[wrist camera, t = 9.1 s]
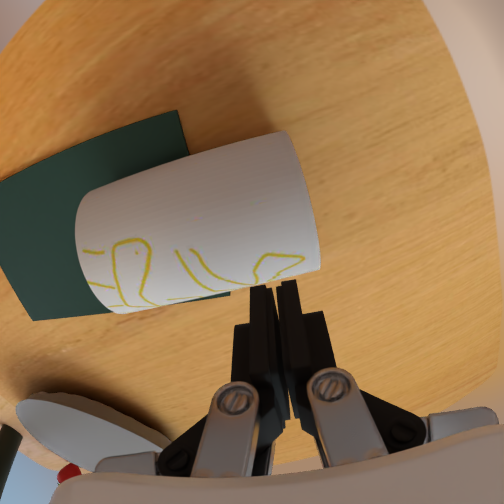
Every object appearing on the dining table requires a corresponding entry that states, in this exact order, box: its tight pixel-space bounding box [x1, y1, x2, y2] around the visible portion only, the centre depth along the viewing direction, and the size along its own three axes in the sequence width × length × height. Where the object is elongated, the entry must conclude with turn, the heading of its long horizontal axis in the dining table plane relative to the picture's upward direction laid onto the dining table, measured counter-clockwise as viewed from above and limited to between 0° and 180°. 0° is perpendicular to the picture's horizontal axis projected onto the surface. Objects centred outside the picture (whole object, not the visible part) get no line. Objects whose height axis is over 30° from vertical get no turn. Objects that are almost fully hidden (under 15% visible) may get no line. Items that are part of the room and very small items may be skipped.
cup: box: [75, 131, 321, 314], centre depth 19 cm, size 8×8×12 cm
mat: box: [0, 110, 230, 321], centre depth 24 cm, size 15×23×1 cm, turn 102°
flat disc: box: [16, 391, 172, 473], centre depth 39 cm, size 28×28×4 cm
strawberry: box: [57, 463, 82, 485], centre depth 48 cm, size 6×8×10 cm
